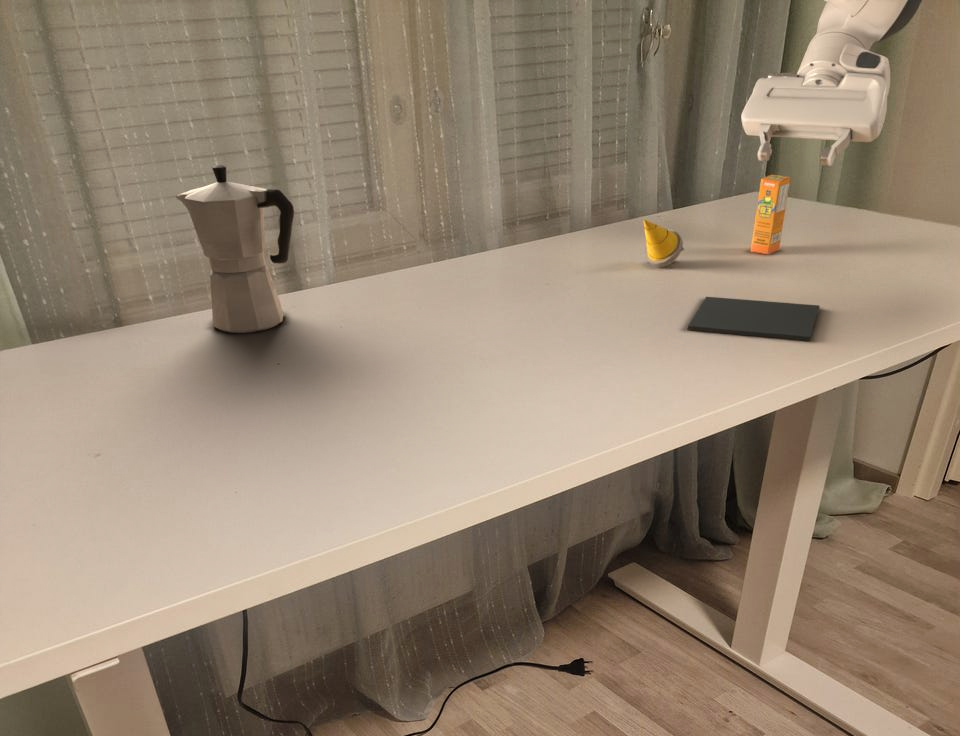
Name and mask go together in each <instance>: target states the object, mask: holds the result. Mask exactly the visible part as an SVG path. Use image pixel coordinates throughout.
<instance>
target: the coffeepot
mask: <svg viewBox="0 0 960 736" xmlns="http://www.w3.org/2000/svg"><path fill="white" fill-rule="evenodd" d="M211 169H212V171H213V174H214V177H215V179H216V182H214V183H213V182H212V183H211V184H208V185H205V186H202V187H198V188H194V189H190V190H187V191H183V192H182V193H179V194H176V196H175V198H176V200H178V201H180V202H181V203H182V204H183V206H184V207H185V209H187V211H188V214H189V216H190V219H191V221H192V224H193V227H194V230H195V233H196V235H197V238H198V241H199V243H200V247H201V249H202V252H203V255H204V256H205V257H207V258H208V260H209V266H210V270H211V271H210V273H209V277H210V297H211V312H212V313H211V315H212V326H213V327H214V328H216V329H218V330H219V331H221V332H224V333H225V332H226V333H234V334H235V333H237V334H242V333H243V334H244V333H245V334H246V333H254V332H259V331H265V330H268V329H271V328H274V327H276V326H278V325H279V324H281V323H282V322H283V319H284V310H283V309H284V308H283V306H282V303H281V301H280V297H279V295H278V291H277V289H276V286H275V283H274V280H273V276H272V274H271V270H270V268H269V266H268V265H267V264H266V260H265V254H264V252H265V249H266V231H265V210H264V209H265V208H270V207H276V208H277V209H278V211H279V212H280V213H279V216H278V226H279V228H278V229H279V231H278V236H277V248H278V253H277V254H270V255H269V259H270V261H271V262H272V263H273V264H278V265H279V264H285V263H287V262H288V261H289V253H290V244H291V237H292V229H293V222H294V217H295V210H294V205H293V203H292V202H291V201H290V199H289V198H288V197H287V196H286V194H285V193H284V192H282V190H280V189H279V188H263V187H259V186H254V185H247V184H242V183H237V182H232V181H228V179H227V165H224V164H220V163H219V164H215V165H214V166H212V167H211Z"/></svg>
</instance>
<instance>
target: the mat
mask: <svg viewBox="0 0 960 736" xmlns="http://www.w3.org/2000/svg"><path fill="white" fill-rule="evenodd" d="M819 310H820V305H819V304H806V303H805V304H804V303H793V302H780V301H765V300H754V299H741V298H729V297H728V298H727V297H717V296H705V298H704V299H703V300H702V303H701V304H700V305H699V307H698V309H697V310H696V312H695V314H694V315H693V317H692V319H691V320H690V322H689V323H688V325H687V331H696V332H706V333H715V334H728V335H738V336H751V337H761V338H770V339H771V338H773V339H783V340H793V341H805V342H810V341H811V338H812V335H813V331H814V327H815V324H816V321H817V318H818V314H819Z"/></svg>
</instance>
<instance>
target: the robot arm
mask: <svg viewBox="0 0 960 736" xmlns="http://www.w3.org/2000/svg"><path fill="white" fill-rule="evenodd" d="M823 1H824V2H825V5H824V7H823V9H822V12H821V14H820V17H819V19H818V23H817V28H816V33H815V35H814V36H813V38H811V40H810V42H809V44H808V46H807V49H806V51H805V54H804V56H803V58H802V60H801V63H800V66H799V68H798V70H797V72H776V71H774V72H769V73H768V74H766V75H764V76H762V77H760V78H758V80H757V81H756V83H755V85H754V87H753V89H752V93H751V94H750V96H749V98H748V100H747V102H746V104H745V105H744V108H743V110H742V112H741V116H740V119H741V125H742V129H743V131H744V132H745V134H746V135H747V136H755V137H759V140H760V146H759V149H758V150H757V160H758V161H759V162H760V161H761V162H769V161H770V157H771V156H772V153H773V148H772V143H767V142H770V141H771V139H772V138H788V139H789V138H790V139H791V138H792V139H804V140H805V139H806V140H807V139H809V140H823V141H825V140H826V141H835V142H834V143H833V144H831V146H824V148H823V152H822V154H821V156H820V165H821V166H828V167H829V166H830V167H832V166H833V164H834V162H835V160H836V157H837V156H839V155H840V154H841V153H843V151H844V150H846V149H847V148H848V147H849V145H850V143H851V142H856V143H857V142H859V143H871V142H873V141H874V140H876V139H877V138H878V137H880V136H881V135H880V134H881V132H882V130H883V127H884V124H885V121H886V116H887V111H888V96H889V94H890V88H891V66H890V61H889V58H888V57H887V56H884V55H881V54H879V53H876V52H873V51H871V48H872V46H873V44H874V43H876V42H877V43H879V42H883V41H886V40H887V39H888V38H891V37H892V36H894V35H895V34H898V33H899V32H901V31H902V30H903V29H904V28H905V27H906V26H907V25H908V24H909V23H910V22H911V21H912V19H913V18H914V16H915V14H916V13H917V11H918V9H919V8H920V6H921V3H922V2H923V0H823Z"/></svg>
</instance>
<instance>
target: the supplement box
mask: <svg viewBox="0 0 960 736" xmlns="http://www.w3.org/2000/svg"><path fill="white" fill-rule="evenodd" d="M790 183H791V176H785V175H778V174H770V175H767V176H765V177H762V178H761V179H760V185H759V191H758V192H759V193H758V200H757V205H756V211H755V219H754V225H753V232H752V238H751V244H750V245H751V246H750V252H751V253H758V254H764V255H767V256H768V255H771V254H773V253H776V252H777V251H779V250H780V248H781V247H780V246H781V240H782V234H783V228H784V227H783V226H784V221H785V215H786V209H787V201H788V195H789V190H790Z"/></svg>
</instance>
